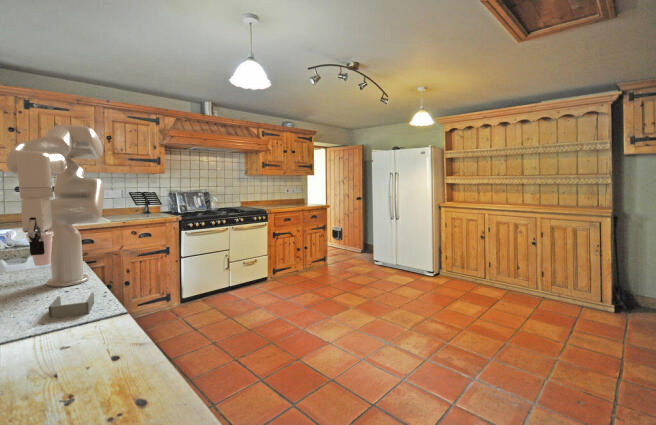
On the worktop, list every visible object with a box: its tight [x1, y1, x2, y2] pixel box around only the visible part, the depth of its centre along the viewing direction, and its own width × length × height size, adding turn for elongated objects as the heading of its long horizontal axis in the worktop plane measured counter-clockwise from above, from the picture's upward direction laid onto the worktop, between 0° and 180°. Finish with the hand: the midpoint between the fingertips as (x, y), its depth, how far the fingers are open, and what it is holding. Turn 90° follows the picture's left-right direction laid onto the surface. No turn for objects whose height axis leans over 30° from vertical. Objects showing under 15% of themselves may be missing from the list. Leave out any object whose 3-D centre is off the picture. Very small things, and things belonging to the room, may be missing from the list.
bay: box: [48, 292, 95, 320], centre depth 102 cm, size 9×9×4 cm
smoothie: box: [25, 231, 54, 267], centre depth 103 cm, size 6×6×14 cm
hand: (41, 251), depth 103 cm, fingers closed on smoothie, 6 cm apart
